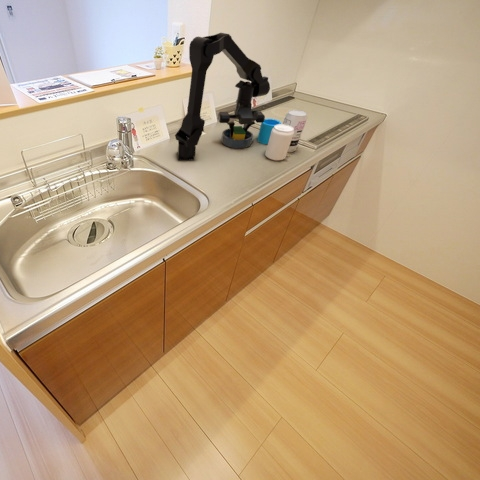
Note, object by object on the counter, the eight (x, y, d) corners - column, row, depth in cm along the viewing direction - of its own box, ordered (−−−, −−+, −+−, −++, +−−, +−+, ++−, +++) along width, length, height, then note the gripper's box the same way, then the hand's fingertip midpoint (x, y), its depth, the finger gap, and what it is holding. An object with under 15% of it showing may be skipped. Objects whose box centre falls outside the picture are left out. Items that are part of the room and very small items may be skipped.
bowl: (224, 149, 118) (225, 140, 115) (218, 136, 127) (219, 128, 125) (254, 149, 118) (256, 140, 115) (246, 136, 128) (248, 127, 125)
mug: (268, 145, 120) (273, 127, 115) (253, 139, 125) (257, 121, 119) (284, 139, 125) (290, 120, 120) (269, 133, 130) (274, 115, 125)
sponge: (243, 142, 119) (245, 132, 116) (233, 142, 119) (235, 132, 116) (239, 136, 124) (241, 126, 121) (229, 136, 124) (231, 126, 121)
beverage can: (289, 159, 111) (299, 130, 103) (273, 163, 109) (282, 133, 101) (276, 151, 117) (285, 122, 108) (260, 154, 115) (268, 125, 106)
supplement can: (279, 143, 122) (290, 107, 112) (298, 148, 118) (311, 112, 108) (272, 149, 118) (283, 113, 107) (291, 155, 114) (304, 118, 104)
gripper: (225, 105, 104) (219, 145, 115) (273, 105, 105) (263, 144, 115) (220, 96, 112) (214, 134, 123) (265, 96, 113) (255, 134, 123)
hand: (236, 137), depth 121 cm, fingers closed on sponge, 4 cm apart
